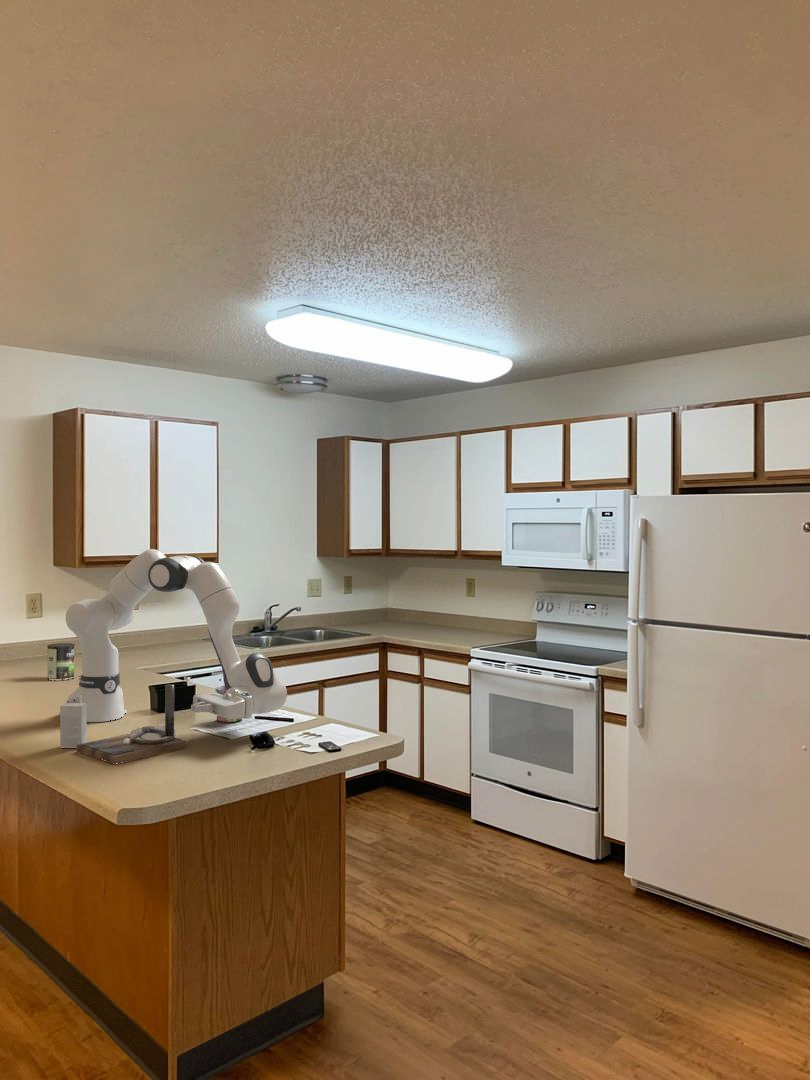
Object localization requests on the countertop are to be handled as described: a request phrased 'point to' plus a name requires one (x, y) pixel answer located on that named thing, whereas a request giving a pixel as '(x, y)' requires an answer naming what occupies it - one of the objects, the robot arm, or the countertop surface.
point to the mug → (221, 691)
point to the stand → (126, 748)
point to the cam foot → (157, 732)
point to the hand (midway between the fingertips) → (193, 708)
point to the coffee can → (60, 660)
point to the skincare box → (73, 725)
